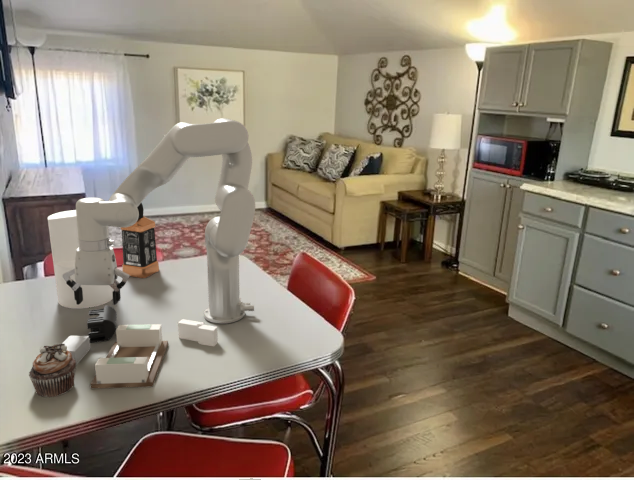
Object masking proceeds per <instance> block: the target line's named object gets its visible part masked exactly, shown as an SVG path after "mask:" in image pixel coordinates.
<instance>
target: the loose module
mask: <svg viewBox="0 0 634 480" xmlns="http://www.w3.org/2000/svg"><path fill="white" fill-rule="evenodd" d="M89 339H90V338H89V335H69V336H68V337H67V338H66V339H65V340H64V341H63V342H62V343H61V344H65V346H67V350H68V351H69V352H70V353H71V354H72V358H73V359H75V361H76V366H77V365H78V363H80V362H81V360H82V359H83V358H84V357H85V356H86V354H87V353H88V352H89V351H90V350H91V343H90V341H89Z"/></svg>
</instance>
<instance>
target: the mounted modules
mask: <svg viewBox="0 0 634 480" xmlns="http://www.w3.org/2000/svg"><path fill="white" fill-rule="evenodd" d="M162 330H163V329H162V323H160V324H157V323H156V324H154V323H153V324H148V323H146V324H144V323H143V324H119V325H118V326H117V327H116V332H115V335H116V342H117V345H118V344H121V347H150V346H156V344H160V345H161V343H162V341H163V331H162ZM94 368H95V369H94V370H95V375H96V379H97V381H101V384H109V383H142V380H143V381H144V382H146V381H147V378H148V376H149V373H148V360H147V357H121V358H106V357H99V358H98V359H97V361H96V363H95V364H94ZM97 383H98V382H97ZM98 384H100V383H98Z"/></svg>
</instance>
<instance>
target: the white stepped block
mask: <svg viewBox="0 0 634 480" xmlns="http://www.w3.org/2000/svg"><path fill="white" fill-rule="evenodd" d="M177 326H178V328H177V329H178V330H177V332H178V338H179V339H182V340H188V341H193V342H196V343H198V344H199V345H203V346H210V347H215V346H216V345H217V344H218V343H219V342H218V341H219V340H218V339H219V338H218V326H213V325H209V324H205V322H202V321H197V320H191V319H185V318H182V319H181V320H179V321H178V322H177Z"/></svg>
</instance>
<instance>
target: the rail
mask: <svg viewBox="0 0 634 480" xmlns="http://www.w3.org/2000/svg"><path fill="white" fill-rule="evenodd" d="M159 347H160V344H156V346H155V349H154V351H153V353H152V356H151V358H150V361H149V363H148V373H149V372H150V370H151V367H152V365H153V362H154V360H155V357H156V355H157V352H158V350H159ZM120 348H121V344H118V345H117V347H116V348H115V350H114V352H113V354H112V356H111V357H110V358H115V357H116V356H117V354H118V352H119V350H120ZM97 382H98V383H100V384H101V381H97ZM143 382H144V381H143V380H142V383H143ZM98 383H97V384H98Z"/></svg>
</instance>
